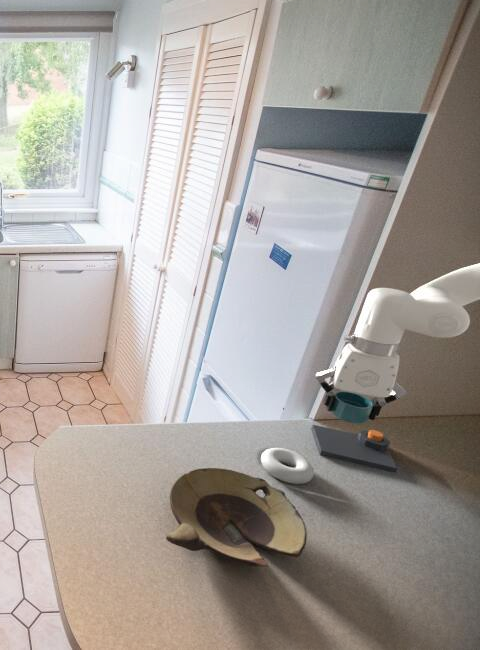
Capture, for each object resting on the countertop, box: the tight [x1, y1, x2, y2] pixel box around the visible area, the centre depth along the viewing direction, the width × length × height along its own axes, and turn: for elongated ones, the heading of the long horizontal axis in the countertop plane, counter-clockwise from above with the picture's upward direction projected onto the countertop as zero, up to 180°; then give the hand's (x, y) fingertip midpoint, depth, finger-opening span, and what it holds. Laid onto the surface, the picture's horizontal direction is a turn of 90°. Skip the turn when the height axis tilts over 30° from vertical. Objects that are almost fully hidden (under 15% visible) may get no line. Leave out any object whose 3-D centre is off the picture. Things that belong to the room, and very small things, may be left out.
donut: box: [260, 447, 315, 485], centre depth 102 cm, size 10×4×10 cm
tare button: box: [367, 429, 384, 442], centre depth 108 cm, size 3×3×2 cm
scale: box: [310, 424, 399, 474], centre depth 108 cm, size 14×11×3 cm
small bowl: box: [329, 390, 374, 424], centre depth 105 cm, size 7×7×4 cm
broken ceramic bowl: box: [165, 467, 308, 568], centre depth 87 cm, size 22×30×8 cm
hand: (348, 412), depth 105 cm, fingers closed on small bowl, 7 cm apart
